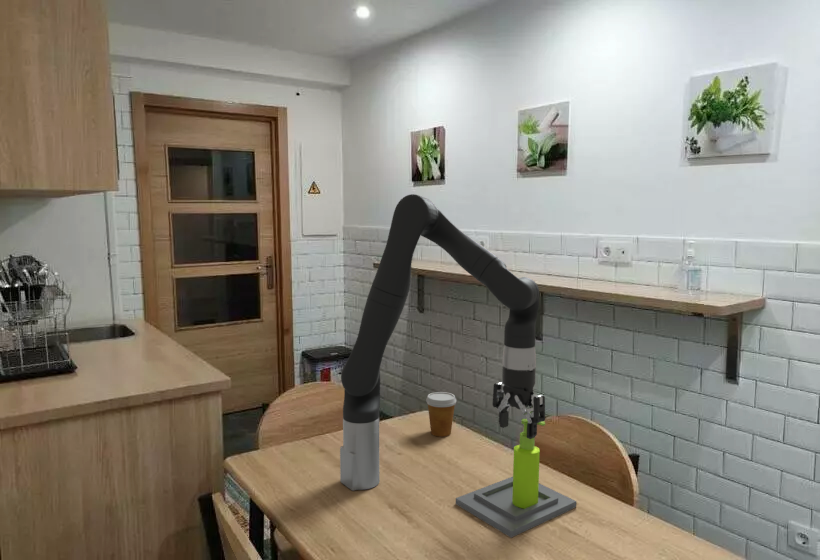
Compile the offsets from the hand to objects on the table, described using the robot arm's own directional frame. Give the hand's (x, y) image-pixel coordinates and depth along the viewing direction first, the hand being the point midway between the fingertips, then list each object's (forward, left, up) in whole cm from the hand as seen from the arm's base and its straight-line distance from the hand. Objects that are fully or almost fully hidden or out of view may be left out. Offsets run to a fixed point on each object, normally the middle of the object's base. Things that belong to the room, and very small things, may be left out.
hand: (517, 432), depth 137 cm
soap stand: (0, 0, -18) cm, 18 cm away
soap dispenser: (+1, -3, -17) cm, 17 cm away
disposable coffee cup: (+15, +46, -18) cm, 52 cm away
